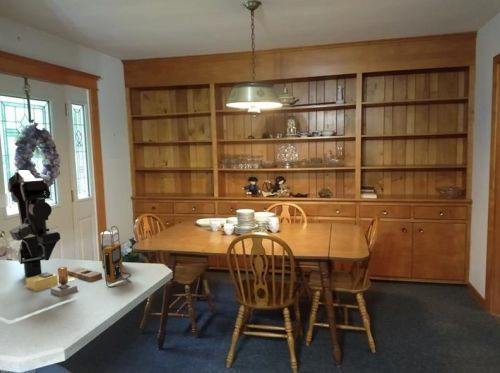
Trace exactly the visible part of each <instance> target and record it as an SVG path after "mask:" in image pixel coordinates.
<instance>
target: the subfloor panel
mask: <svg viewBox="0 0 500 373" xmlns="http://www.w3.org/2000/svg"><path fill="white" fill-rule="evenodd" d="M57 279H58V283H57V284H53V285H50V286H47V287H44V288H41V289H38V290H35V291H36V292H42V291H45V290H47V289H50V288H52V287H55V286H58V285H61V284H59V278H58V275H57ZM77 279H79V278H77V277H73V276H70V275H68V283H70V282H71V281H75V280H77ZM24 287H25V288H28V287H27V286H26V284H25V285H24ZM28 289H29V288H28Z"/></svg>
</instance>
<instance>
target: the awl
mask: <svg viewBox="0 0 500 373" xmlns="http://www.w3.org/2000/svg"><path fill="white" fill-rule="evenodd" d="M67 270H68V267H67V266H61V267H58V268H57V276H58V278H59V284H60V285H61V289H64V288H67V283H69V282H68V275H67Z"/></svg>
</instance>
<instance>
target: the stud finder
mask: <svg viewBox="0 0 500 373" xmlns="http://www.w3.org/2000/svg"><path fill="white" fill-rule="evenodd" d="M57 276H58V274H55V273H51V272H47V271H46V272H42V274H39V275H37V276H34V277H26V278H25V283H26V284H25V285H26V286H27V287H28V289H30V290H33V291H36V290H38V289H41V288H44V287H47V286H50V285H53V284H57V283H58V279H57ZM27 287H26V288H27Z"/></svg>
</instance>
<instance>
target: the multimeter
mask: <svg viewBox="0 0 500 373" xmlns="http://www.w3.org/2000/svg"><path fill="white" fill-rule="evenodd" d="M113 228H116V231H118V240H119V241H120V231H119V229H118V227H117V226H115V225H113V226H111V230H110V229H104V231H102V232H103V234H104V232H105V231H109V232H110V231H112V237H111V245H110V246H108V247H106V248H104V254H103V261H104V257H105V264H104V267H103V270H104V271H103V272H104V278H105V279H104V280H105V285H106V287H108V288H111V286H110V285H108V283H107V282H111V283H112V284H115V280H117V279H119V278H123V277H124V274H126V275H128V276H127V277H125V279H126V280H127V281H128V282H129V283H132V280H130V279H129V278H130V277H131V275H132V274H131V273H128V272H124V271H123V253H122V252H123V251H122V243H119V244H114V240H113V231H114V230H113ZM110 233H111V232H110ZM102 251H103V235H102ZM128 282H122V283H119V284H115V285H112V288H115V287H120V286H123V285H124V284H128Z"/></svg>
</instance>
